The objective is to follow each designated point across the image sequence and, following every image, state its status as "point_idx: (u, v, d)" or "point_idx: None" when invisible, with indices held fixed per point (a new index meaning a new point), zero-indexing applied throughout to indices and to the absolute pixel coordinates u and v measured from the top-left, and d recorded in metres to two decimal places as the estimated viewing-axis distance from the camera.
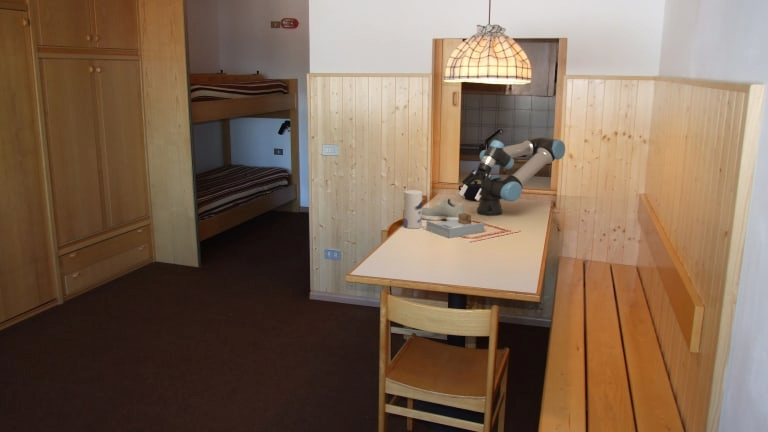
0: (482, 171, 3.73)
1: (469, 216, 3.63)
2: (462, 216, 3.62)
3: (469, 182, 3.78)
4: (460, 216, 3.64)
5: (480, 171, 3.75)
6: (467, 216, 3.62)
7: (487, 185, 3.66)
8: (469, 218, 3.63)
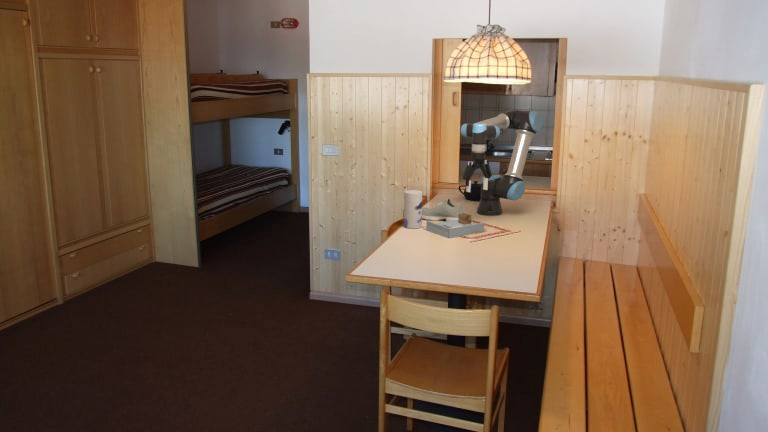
0: (480, 160, 3.61)
1: (469, 216, 3.63)
2: (462, 216, 3.62)
3: None
4: (460, 216, 3.64)
5: (478, 160, 3.61)
6: (467, 216, 3.62)
7: None
8: (469, 218, 3.63)
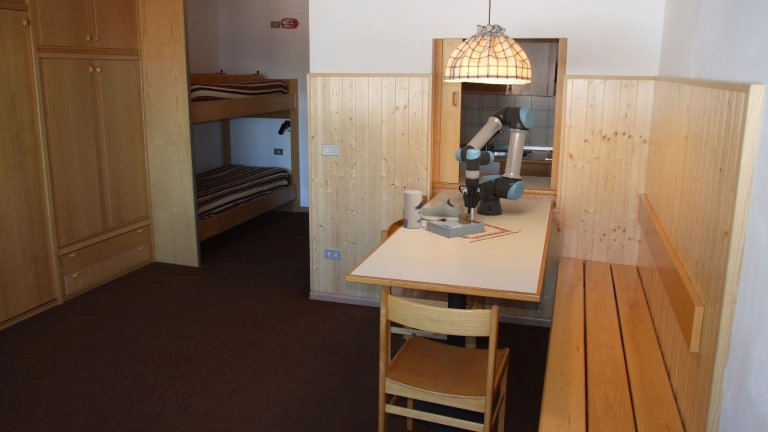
0: (474, 186, 3.62)
1: (469, 216, 3.63)
2: (462, 216, 3.62)
3: None
4: (460, 216, 3.64)
5: (472, 186, 3.62)
6: (467, 216, 3.62)
7: None
8: (469, 218, 3.63)
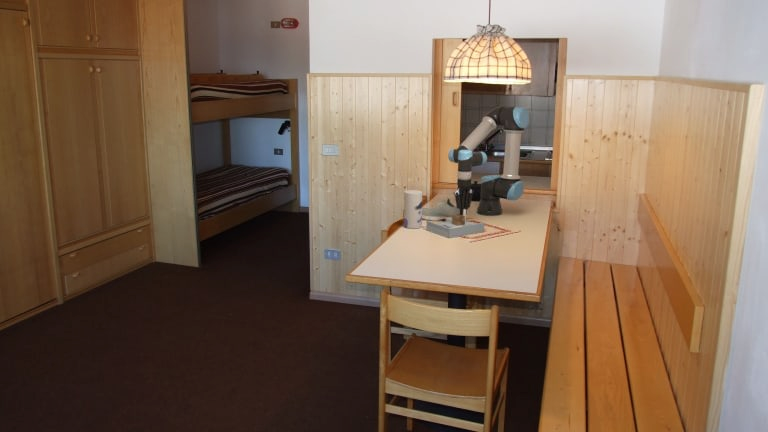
0: (466, 187, 3.59)
1: (463, 217, 3.61)
2: (456, 217, 3.60)
3: None
4: (454, 217, 3.61)
5: (464, 187, 3.59)
6: (461, 217, 3.60)
7: None
8: (463, 219, 3.61)
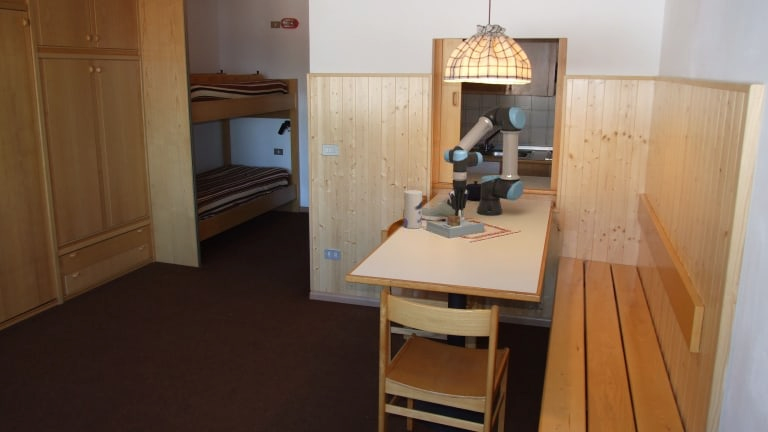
0: (462, 187, 3.58)
1: (458, 218, 3.59)
2: (451, 218, 3.58)
3: None
4: (449, 218, 3.60)
5: (459, 188, 3.57)
6: (456, 218, 3.58)
7: None
8: (458, 220, 3.59)
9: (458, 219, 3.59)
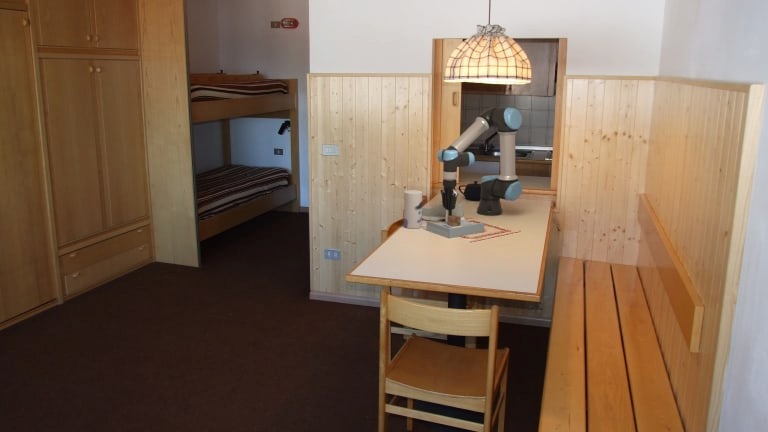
0: None
1: (458, 218, 3.58)
2: (451, 218, 3.58)
3: None
4: (449, 218, 3.59)
5: None
6: (456, 218, 3.58)
7: None
8: (458, 220, 3.59)
9: (458, 219, 3.59)
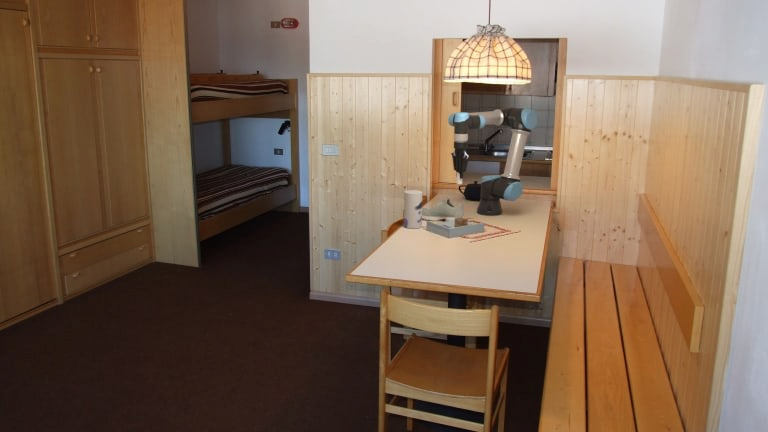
0: None
1: (465, 220, 3.53)
2: (458, 220, 3.53)
3: None
4: (456, 220, 3.54)
5: None
6: (463, 220, 3.52)
7: None
8: (465, 223, 3.54)
9: (465, 222, 3.53)
